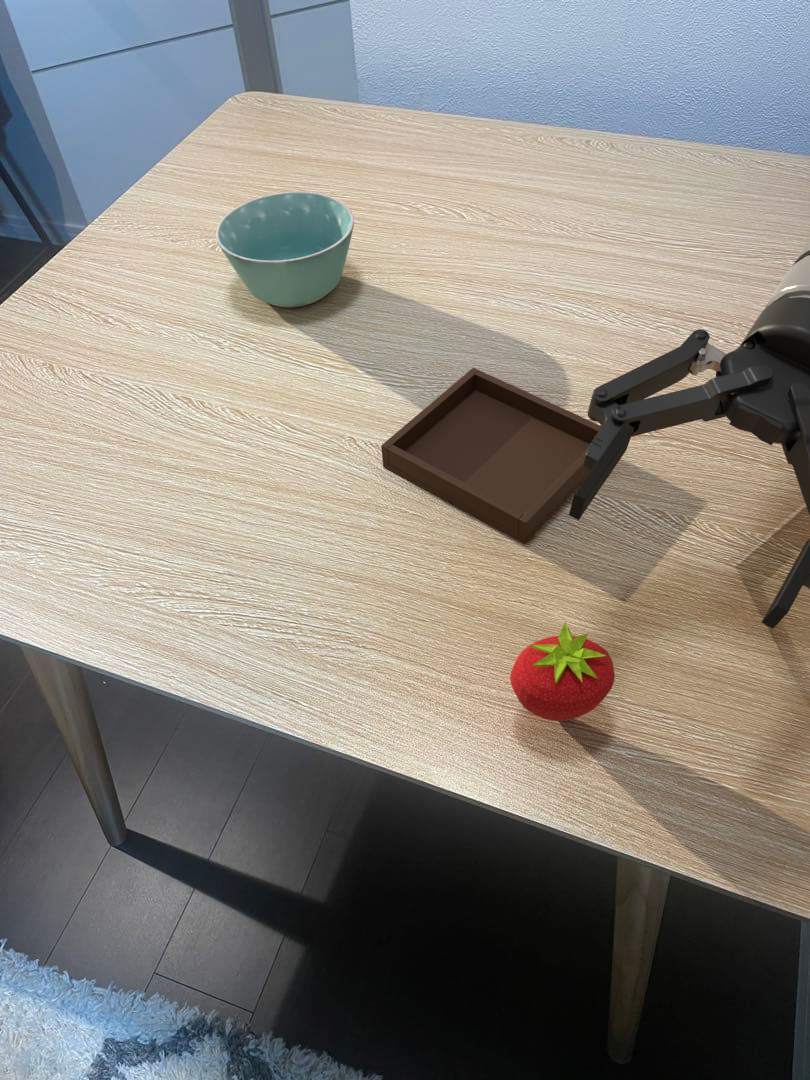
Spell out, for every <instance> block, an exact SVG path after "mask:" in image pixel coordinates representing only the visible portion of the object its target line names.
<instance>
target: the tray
mask: <svg viewBox="0 0 810 1080" xmlns="http://www.w3.org/2000/svg"><path fill="white" fill-rule="evenodd" d="M601 428H602V426H601V425H600V424H599V423H597V422H595V421H592V420H590V419H587V418H585V417H583V416H581V415H578V414H576V413H574V412H572V411H569V410H567V409H565V408H563V407H561V406H559V405H556V404H554V403H552V402H550V401H548V400H545V399H544V398H541V397H539V396H536V395H535V394H533V393H530V392H528V391H526V390H523V388H522V389H521V388H519V387H518V386H515V385H513V384H510V383H508V382H506V381H503V380H502V379H500V378H497V377H495V376H493V375H491V374H489V373H487V372H484V371H483V370H479V369H478V368H475V367H472V368H471V369H469V371H467V372H466V373H465V374H463V376H461V377H460V378H458V380H457V381H455V382H454V383H453V384H452V385H451V386H450V387H448V388H447V389H446V390H445V391H444V392H443V393H441V394H440V395H439V396H438V397H437V398H435V399H434V400H433V401H432V402H431V403H429V404H428V405H427V406H426V407H425V408H423V410H422V411H420V412H419V413H418V414H416V415H415V416H414V417H413V418H412V419H410V421H408V422H407V423H405V424H404V426H402V427H401V428H400V429H398V431H396V432H395V433H393V435H392V436H391V437H389V438H388V439H387V440H386V441H384V443H382V444H381V445H380V448H381V460H382V467H383V468H385V469H386V470H389V471H390V472H392V473H394V474H396V475H397V476H399V477H401V478H403V479H405V480H406V481H409V482H410V483H412V484H415V485H416V486H418V487H419V488H421V489H424V490H425V491H426V492H428V493H431V494H433V495H434V496H435V497H438V498H440V499H441V500H443V501H445V502H447V503H449V504H451V505H453V506H454V507H456V508H458V509H460V510H462V511H463V512H466V513H468V514H469V515H471V516H472V517H474V518H476V519H478V520H480V521H482V522H483V523H485V524H487V525H489V526H491V527H493V528H494V529H496V530H498V531H500V532H502V533H504V534H506V535H508V536H509V537H511V538H513V539H515V540H517V542H520V543H522V544H523V545H526V544H527V543H528V542H529V541H530V539H531V538H533V536H534V535H535V534H536V533H537V532H538V531H539V530H540V529H541V528H542V527H543V526H544V525H545V524H546V523H547V522H548V521H549V519H550V518H551V517H552V516H553V515H554V514H555V513H557V511H558V510H559V509H560V508H561V507H562V506H563V505H564V504H565V502H567V501H568V499H570V497H571V496H572V495H573V494H575V493H576V491H577V490H578V489H579V487H580V486H581V484H582V483H583V481H584V480H585V478H586V477H587V476H588V474H589V473H590V471H591V470H589V469H588V468H586V467H584V466H583V463H584V458H585V454H586V450H587V448H588V446H589V445H590V443H591V442H592V440H593V439H594V438H595V436H596V435H597V433H598V432H599V430H600V429H601Z"/></svg>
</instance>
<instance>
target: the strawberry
mask: <svg viewBox="0 0 810 1080" xmlns="http://www.w3.org/2000/svg"><path fill="white" fill-rule="evenodd" d="M588 635H589V632H588V633H584V634H582V635H579V636H577V635H572V632H571V630H570V627H569V626H568V622H567V620H565V621H564V623H563V625H562V627H561V630H560V632H559V634H558V635H553V636H549V637H543V638H542V639H539V640H536V641H534V642H532V643H531V644H529V645H528V646H526V647H525V648H524V649H522V650H521V652H520V653H519V655H518V656H517V658H516V660H515V661H514V664H513V666H512V668H511V671H510V677H509V680H510V685H511V687H512V690H513V692H514V694H515V696H516V698H517V699H518V702H519V703H520V704H521V706H522V707H523V708H524V709H526V710H527V711H528V712H529V713H531V714H533V715H535V716H538V717H540V718H542V719H545V720H548V721H553V722H566V721H569V720H573V719H576V718H579V717H583V716H585V715H587V714H589V713H590V712H592V711H594V710H595V709H596V708H597V707H598V706H599V705H600V704H601V703H602V702H603V700H604V699H605V698H607V696H608V694H609V693H610V691H611V690H612V688H613V686H614V683H615V676H616V674H615V669H614V664H613V663H614V662H613V659H612V657H611V655H610V654H609V652H608V651H607V650H606V649H605V648H604V647H602V646H601V645H600V644H599V643H597V642H595V641H593V640H591V639H589V638H587V637H588Z"/></svg>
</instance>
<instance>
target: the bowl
mask: <svg viewBox="0 0 810 1080" xmlns="http://www.w3.org/2000/svg"><path fill="white" fill-rule="evenodd" d="M354 227H355V217H354V214H353V212H352V210H351V209H350V208H349V206H347V204H345V203H344V202H343V201H341V200H340V199H338V198H335V197H332V196H330V195H328V194H323V193H319V192H312V191H284V192H278V193H277V192H276V193H272V194H271V193H270V194H267V195H264V196H263V195H262V196H260V197H257V198H254V199H251V200H248V201H246V202H244V203H242V204H240V205H238V206H237V207H235V208H233V209H232V210H231V211H229V212H228V213H227V214H226V215H225V216H224V217H223V218H222V219H221V221H220V222H219V223H218V224H217V228H216V231H215V240H216V243H217V244H218V246H219V247H220V250H221V251H222V253H223V255H224V257H226V259H227V261H228V262H229V264H230V265H231V267H232V269H233V270H234V271H235V273H236V275H238V278H239V279H240V280H241V281H242V283H243V284H244V286H245V287H246V288H247V290H248V291H249V293H250V294H251V295H252V296H254V297H255V298H256V299H258V300H259V301H262V302H264V303H266V304H269V305H272V306H275V307H279V308H299V307H300V308H301V307H304V306H308V305H312V304H313V303H316V302H318V301H319V300H322V299H323V298H324V297H325V296H327V295H328V294H329V293H331V292H332V291H333V290H334V289H335V288H336V287H337V286H338V284H339V283H340V280H341V278H342V274H343V271H344V267H345V263H346V259H347V256H348V253H349V249H350V246H351V245H350V244H351V241H352V235H353V231H354Z"/></svg>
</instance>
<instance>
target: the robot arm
mask: <svg viewBox="0 0 810 1080" xmlns="http://www.w3.org/2000/svg"><path fill="white" fill-rule="evenodd" d="M710 339H711V338H710V333H709V332H708V331H706V330H705V329H700V328H698V329H694V331H693V332H692V333H691V334H690V335H689V336H688V337H687V338H686V339H685V340H684V341H683V342H682V343H681V345H680V346H678V347H676V348H674V349H672V350H670V351H667V352H666V353H664V354H662V355H660V356H658V357H656V358H654V359H652V360H650V361H647V362H646V363H644V364H641V365H640V366H638V367H635V368H634V369H632V370H629V371H627V372H625V373H623V374H621V375H619V376H617V377H615V378H613V379H611V380H609V381H607V382H605V383H603V384H601V385H599V386H596V387H595V388H594V389H593V391H592V395H591V398H590V402H589V406H588V409H587V417H588V419H589V420H590V421H592V422H596V423H598V424H599V425H600V426H602V428H601V429H600V430H599V432H598V433H597V435H596V436H595V438H594V439H593V440H592V442H591V443H590V445H589V446H588V448H587V450H586V454H585V458H584V463H583V466H584V467H586V468H588V469H589V470H591V471H590V473H589V474H588V476H587V477H586V478H585V480H584V481H583V483H582V484H581V486H580V487H579V488H578V489H577V490H576V491H575V492H574V493H573V494H574V495H573V498H572V501H571V505H570V509H569V512H568V516H570V517H572V518H574V519H575V520H577V521H580V519H581V518H582V516H583V515H584V513H585V512H586V510H588V508H589V506H590V505H591V503H592V502H593V501H594V499H595V497H596V496H597V494H598V493H599V491H600V490H601V489H602V487H603V486H604V484H605V482H607V479H608V478H609V477H610V476H611V474H612V472H613V471H614V470H615V468H616V466H617V465H618V463H619V462H620V461H621V459H622V458H623V456H624V455H625V453H626V451H627V450H628V447H629V444H630V441H631V438H632V437H636V436H640V435H645V434H648V433H652V432H656V431H660V430H665V429H668V428H673V427H676V426H680V425H685V424H689V423H693V422H696V421H699V420H702V421H703V422H711V421H715V420H718V419H723V418H725V417H726V419H728V421H730V422H729V426H732V427H733V428H736V429H738V430H740V431H743V432H747V433H750V434H752V435H754V436H755V437H756V438H757V439H758V440H759V441H761V442H763V443H765V444H767V445H770V446H773V444H778V445H779V444H780V445H781V448H782V451H783V453H784V456H785V460H786V462H787V463H788V465H791V466H792V469H793V471H794V475H795V478H796V480H797V484H798V486H799V489H800V491H801V495H802V497H803V501H804V503H805V507H806V510H807V512H808V515H809V516H810V238H809V239H808V241H807V242H806V244H805V245H804V247H803V249H802V251H801V253H800V254H799V256H798V257H797V259H796V260H795V261H794V263H793V264H792V265H791V267H790V268H789V269H788V270H787V272H786V274H785V275H784V277H783V278H782V280H781V281H780V283H779V284H778V286H777V288H776V289H775V291H774V292H773V294H772V295H771V297H770V298H769V300H768V302H767V303H766V304H765V307H764V309H763V310H762V311H761V312H760V314H759V315H758V317H757V319H755V321H754V323H753V324H752V326H751V327H750V329H749V331H748V332H747V334H746V335H745V337H744V338H743V340H742V341H741V343H740V345H738V347H737V348H736V349H734V350H732V351H730V352H728V353H726V352H724V351H723V350H721V349H719V348H717V347H715V346H714V345H713V344H710V343H709V341H710ZM706 370H713V371H715V377H712V378H710V379H708V381H706V382H705V383H704V384H700V385H696V386H692V387H688V388H684V389H679V390H675V391H672V392H668V393H664V394H663V393H662V394H660V395H656V396H654V395H655V394H657V393H659V392H661V391H663V390H665V389H668V388H670V387H671V386H673V385H676V384H677V383H679V382H680V381H682V380H683V379H685V378H686V377H687V376H689V374H690V375H692V376H698V374H699V373H703V372H704V371H706ZM803 586H804V587H805V588H807V589H809V590H810V537H809V538H808V540H806V542H805V543H804V545H803V547H802V548H801V550H800V552H799V554H798V556H797V558H796V559H795V561H794V563H793V564H792V567H791V568H790V570H789V572H788V574H787V575H786V577H785V579H784V581H783V583H782V585H781V587H779V590H778V592H777V594H776V595H775V597H774V599H773V601H772V603H771V605H770V606H769V608H768V610H767V612H766V614H765V616H764V617H763V619H762V620H761V624H763V625H765V626H767V627H768V628H770V629H772V630H773V629H775V627H776V626H778V624H779V623H780V622H781V621H783V619H784V617H786V615H788V613H789V611H791V608H792V606H793V604H794V603H795V600H796V599H797V597H798V595H799V593H800V592H801V591H800V590H801V589H802V587H803Z"/></svg>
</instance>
